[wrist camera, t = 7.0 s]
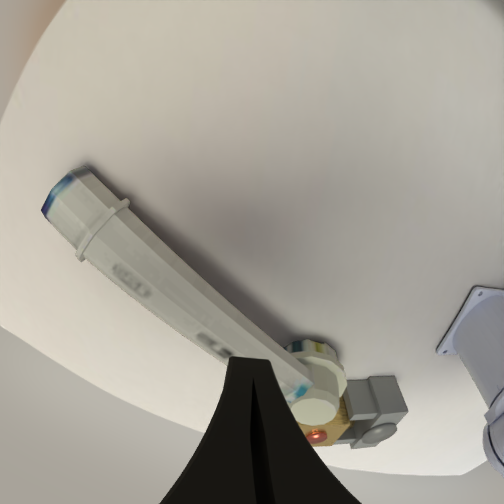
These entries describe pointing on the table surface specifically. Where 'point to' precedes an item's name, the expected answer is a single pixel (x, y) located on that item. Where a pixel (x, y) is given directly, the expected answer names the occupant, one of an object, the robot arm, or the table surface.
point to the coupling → (372, 411)
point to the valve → (328, 428)
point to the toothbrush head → (186, 294)
